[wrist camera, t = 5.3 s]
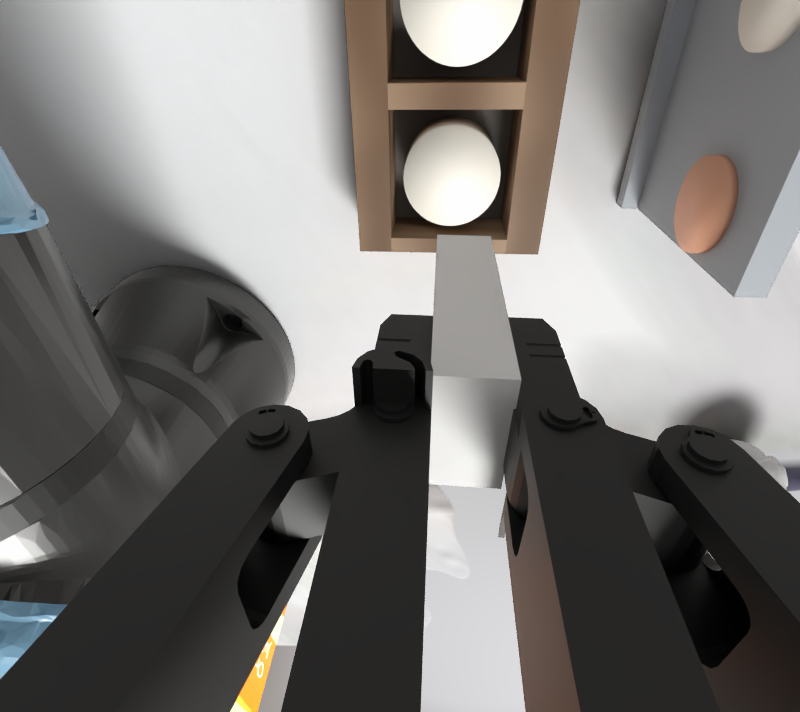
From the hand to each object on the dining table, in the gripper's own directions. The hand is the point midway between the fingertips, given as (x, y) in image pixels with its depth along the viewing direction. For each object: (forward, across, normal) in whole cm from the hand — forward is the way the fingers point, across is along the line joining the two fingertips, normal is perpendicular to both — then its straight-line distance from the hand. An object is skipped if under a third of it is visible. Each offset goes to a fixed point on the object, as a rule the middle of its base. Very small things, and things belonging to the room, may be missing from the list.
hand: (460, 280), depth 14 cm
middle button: (+14, 0, +7) cm, 16 cm away
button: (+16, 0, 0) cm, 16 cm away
